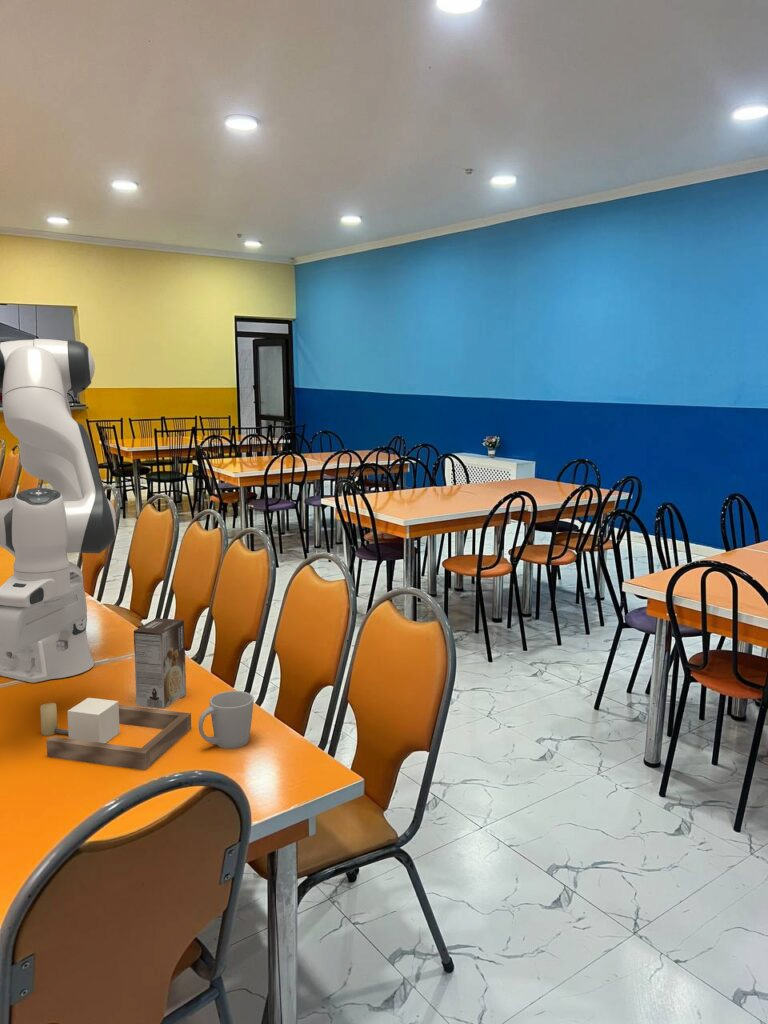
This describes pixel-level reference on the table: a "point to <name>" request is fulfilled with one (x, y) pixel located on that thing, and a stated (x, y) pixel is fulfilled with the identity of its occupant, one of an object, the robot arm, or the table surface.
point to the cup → (229, 719)
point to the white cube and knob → (84, 720)
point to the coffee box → (160, 663)
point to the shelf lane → (126, 756)
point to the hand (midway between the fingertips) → (46, 658)
